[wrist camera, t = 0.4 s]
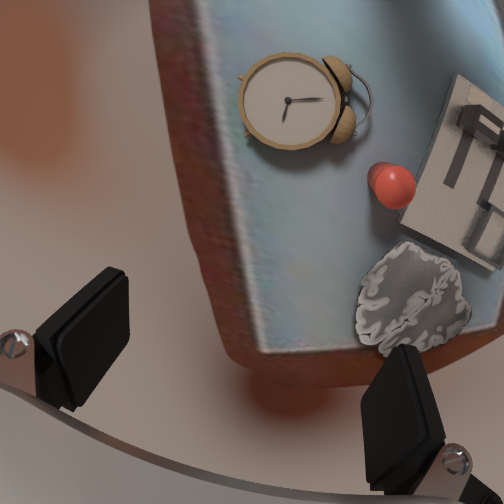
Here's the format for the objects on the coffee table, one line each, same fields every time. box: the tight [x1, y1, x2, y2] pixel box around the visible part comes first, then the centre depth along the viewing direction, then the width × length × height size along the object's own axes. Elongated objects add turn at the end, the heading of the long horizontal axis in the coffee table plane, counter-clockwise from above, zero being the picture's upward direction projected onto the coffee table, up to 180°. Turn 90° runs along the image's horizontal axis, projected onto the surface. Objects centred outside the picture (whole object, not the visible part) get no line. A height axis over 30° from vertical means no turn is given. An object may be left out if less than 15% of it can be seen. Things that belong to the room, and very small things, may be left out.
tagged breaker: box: [458, 104, 504, 145], centre depth 26 cm, size 3×4×4 cm
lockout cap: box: [367, 162, 416, 209], centre depth 32 cm, size 5×5×6 cm
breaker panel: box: [397, 74, 504, 271], centre depth 30 cm, size 21×18×3 cm
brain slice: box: [355, 241, 472, 359], centre depth 39 cm, size 20×17×3 cm
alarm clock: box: [237, 52, 373, 150], centre depth 31 cm, size 11×5×15 cm
